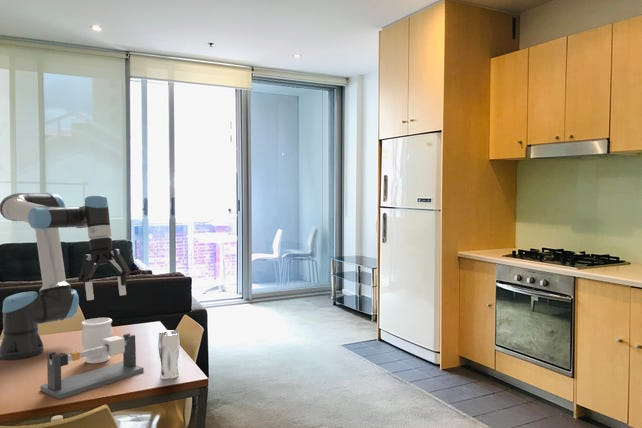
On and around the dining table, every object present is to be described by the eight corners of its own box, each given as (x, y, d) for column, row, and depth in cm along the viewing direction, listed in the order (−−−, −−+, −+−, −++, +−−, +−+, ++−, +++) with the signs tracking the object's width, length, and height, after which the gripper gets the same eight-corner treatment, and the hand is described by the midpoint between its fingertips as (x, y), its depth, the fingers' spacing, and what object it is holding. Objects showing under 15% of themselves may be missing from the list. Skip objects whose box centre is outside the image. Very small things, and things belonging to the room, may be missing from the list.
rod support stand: (40, 390, 156) (39, 351, 156) (123, 365, 179) (123, 331, 179) (59, 399, 149) (58, 358, 149) (143, 371, 172) (143, 336, 172)
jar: (101, 365, 179) (100, 324, 178) (75, 364, 181) (75, 323, 180) (118, 356, 189) (118, 317, 189) (94, 355, 191) (94, 316, 191)
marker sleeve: (102, 353, 169) (102, 339, 169) (116, 349, 173) (116, 335, 173) (111, 356, 166) (110, 341, 166) (124, 352, 170) (124, 338, 170)
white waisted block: (167, 371, 173) (167, 329, 172) (184, 374, 170) (183, 331, 169) (154, 378, 166) (153, 334, 166) (171, 381, 164) (170, 336, 163)
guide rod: (48, 366, 154) (48, 356, 153) (129, 344, 176) (129, 335, 176) (53, 368, 152) (53, 358, 152) (134, 346, 174) (134, 337, 174)
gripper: (63, 243, 177) (69, 303, 175) (123, 232, 170) (130, 294, 169) (78, 243, 184) (84, 300, 182) (136, 233, 178) (143, 292, 176)
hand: (106, 297), depth 175 cm, fingers open, 13 cm apart
